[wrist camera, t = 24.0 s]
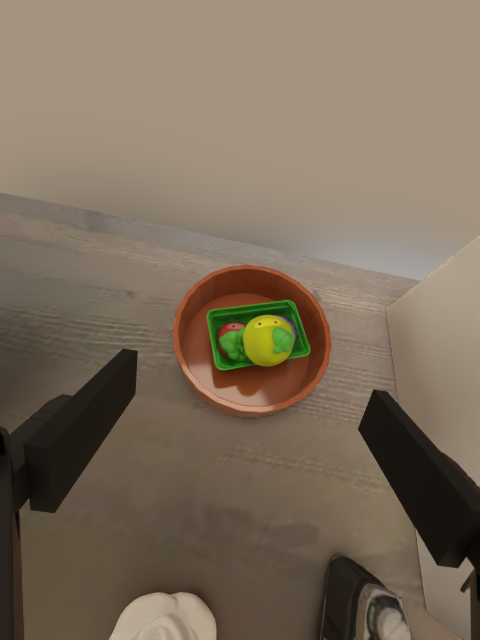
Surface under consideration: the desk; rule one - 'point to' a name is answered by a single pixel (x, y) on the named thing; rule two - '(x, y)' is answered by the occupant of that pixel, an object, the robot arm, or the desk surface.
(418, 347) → the bookstore
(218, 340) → the fruit basket
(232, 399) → the pot
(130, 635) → the rose
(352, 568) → the camera
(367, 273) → the desk surface
